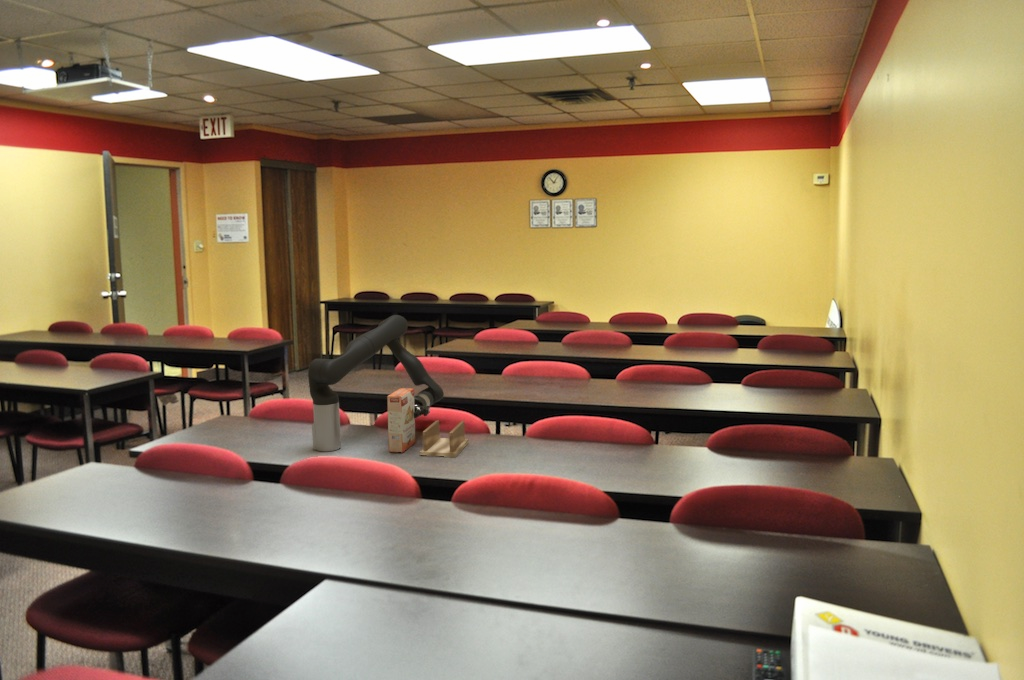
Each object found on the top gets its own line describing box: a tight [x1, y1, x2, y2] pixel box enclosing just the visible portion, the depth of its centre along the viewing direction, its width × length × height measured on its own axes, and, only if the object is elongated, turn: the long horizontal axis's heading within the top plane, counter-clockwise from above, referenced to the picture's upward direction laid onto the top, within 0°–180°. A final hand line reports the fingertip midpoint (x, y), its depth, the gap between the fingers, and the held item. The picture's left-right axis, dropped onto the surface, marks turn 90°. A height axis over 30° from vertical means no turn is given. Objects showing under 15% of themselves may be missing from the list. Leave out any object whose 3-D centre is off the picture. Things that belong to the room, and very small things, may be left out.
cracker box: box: [386, 387, 416, 454], centre depth 282 cm, size 14×6×21 cm, turn 168°
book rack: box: [419, 419, 469, 458], centre depth 280 cm, size 13×18×8 cm
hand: (403, 415), depth 284 cm, fingers open, 8 cm apart
